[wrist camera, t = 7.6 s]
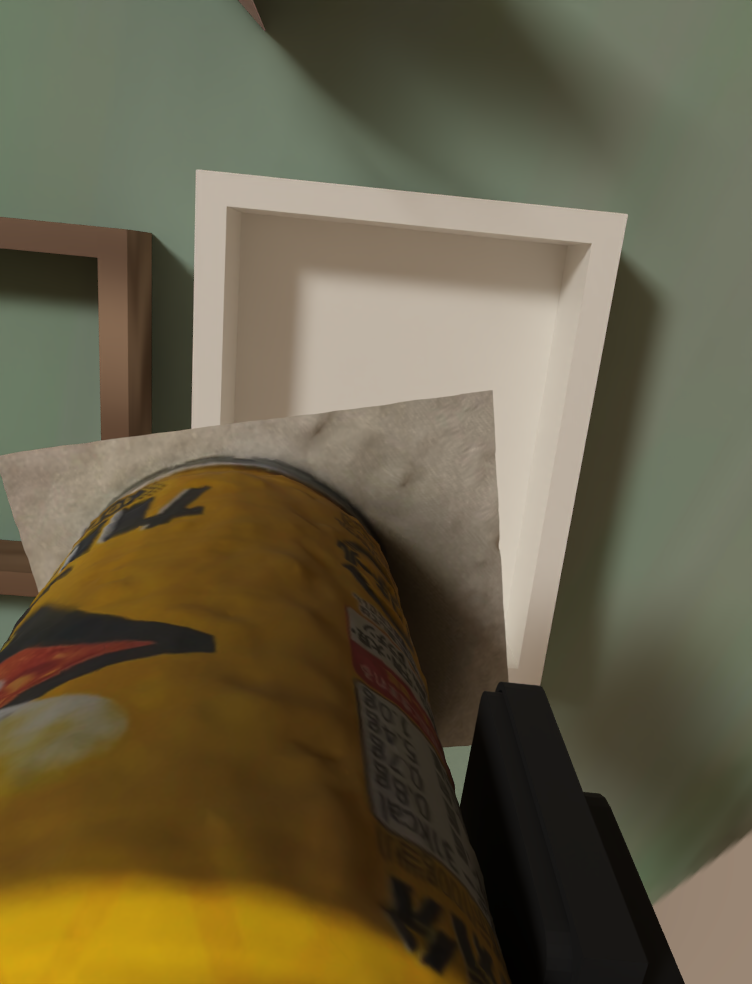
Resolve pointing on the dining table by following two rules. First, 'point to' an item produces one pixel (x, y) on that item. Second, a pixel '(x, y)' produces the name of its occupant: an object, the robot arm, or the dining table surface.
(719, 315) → the dining table surface
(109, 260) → the brown wooden square frame
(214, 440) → the condiment
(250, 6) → the greeting card
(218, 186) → the tray
